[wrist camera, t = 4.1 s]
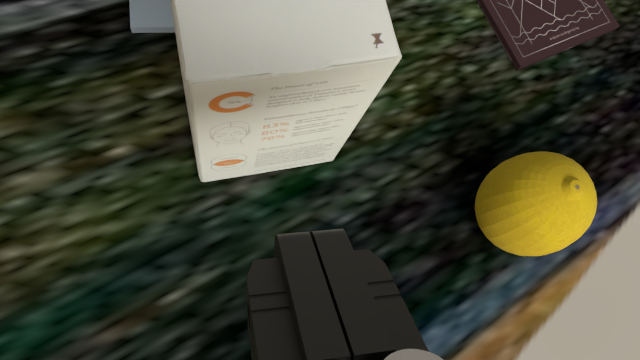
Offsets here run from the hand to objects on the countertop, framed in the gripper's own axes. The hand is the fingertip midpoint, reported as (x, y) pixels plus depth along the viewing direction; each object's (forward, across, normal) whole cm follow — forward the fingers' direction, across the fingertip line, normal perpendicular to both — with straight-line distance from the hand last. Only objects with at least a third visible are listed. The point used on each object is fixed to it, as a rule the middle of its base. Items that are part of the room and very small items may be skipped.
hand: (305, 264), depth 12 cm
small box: (+20, -1, +6) cm, 21 cm away
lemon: (+16, -15, +11) cm, 24 cm away
